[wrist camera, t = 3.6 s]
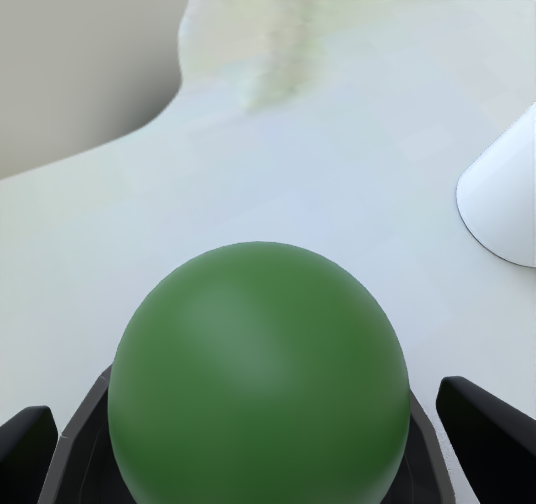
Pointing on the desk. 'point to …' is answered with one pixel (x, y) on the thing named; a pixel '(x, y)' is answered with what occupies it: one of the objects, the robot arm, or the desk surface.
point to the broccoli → (259, 384)
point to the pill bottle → (504, 193)
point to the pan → (120, 500)
